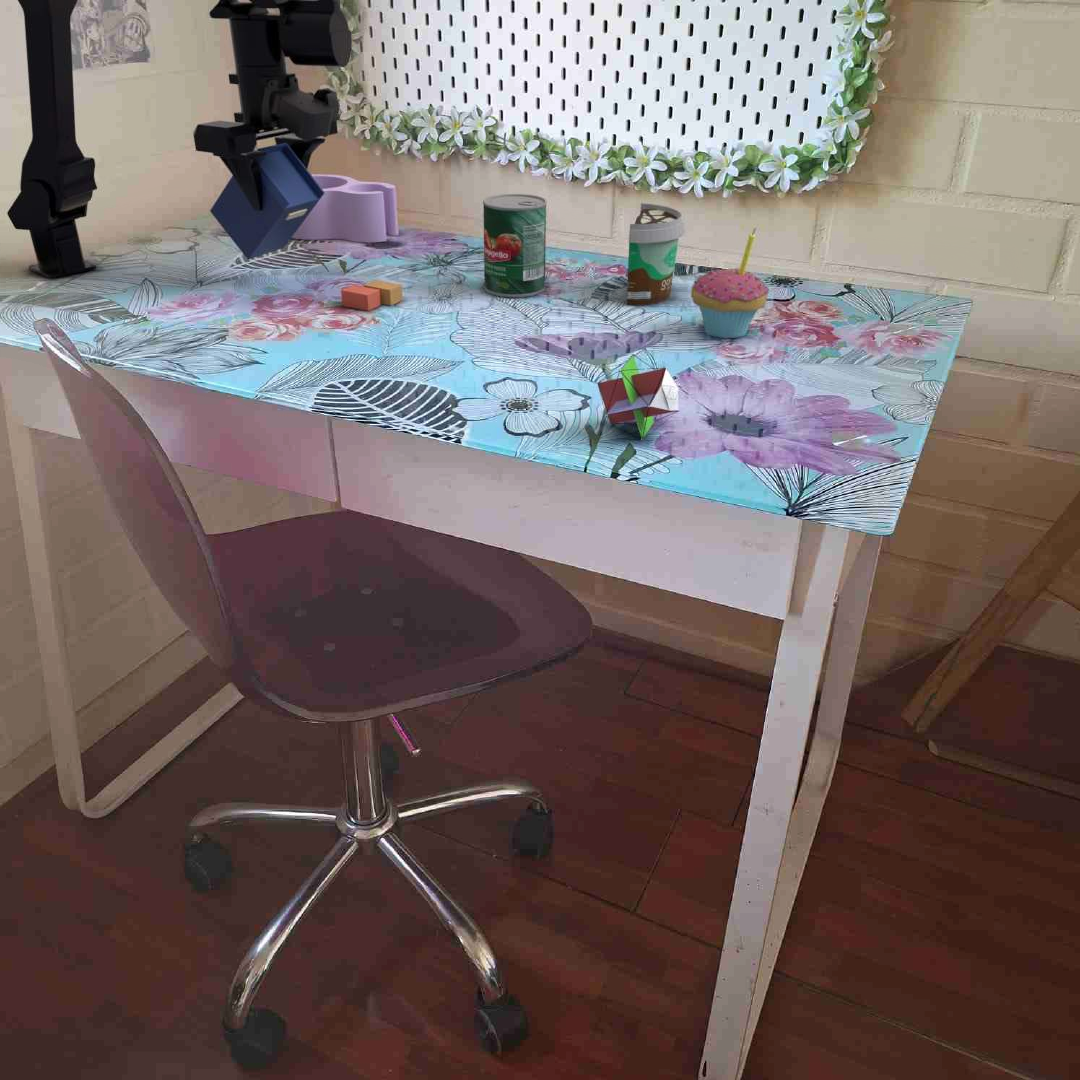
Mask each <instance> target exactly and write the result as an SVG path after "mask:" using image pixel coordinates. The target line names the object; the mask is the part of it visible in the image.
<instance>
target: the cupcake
mask: <svg viewBox="0 0 1080 1080" xmlns="http://www.w3.org/2000/svg"><path fill="white" fill-rule="evenodd" d="M756 230H757V227H754V228H753V230H752V233H750V234H748V238H747V242H746V245H745V249H744V252H743V256H742V259H741V262H740V267H739V268H729V269H727V268H725V269H721V268H719V269H715V270H710V271H708V272H707V273H705V274H703V275H701V276H699V277H698V278H697V279H696V280H695V281H693V285H692V287H691V293H690V294H691V295H690V296H691V299H692V301H693V303H694V304H695V305H696V306H698V308H699V310H700V314H701V317H702V323H703V327H704V332H705V333H706V334H708V335H710V336H712V337H715V338H722V339H736V338H741V337H745V335H747V333H748V331H749V328H750V326H751V323H752V321H753V319H754V317H755V315H756V314H757V312H758V310H759V309H763V308H765V306H766V303H767V300H768V294H769V290H770V289H769V288H768V287H767V285H766V284H765V283H764V282H763V281H762V279H761V278H759V277H757V275H755V274H752V273H751V272H750V271H746V270H747V266H748V263H749V259H750V256H751V252H752V249H753V245H754V242H755V238H756V235H755V233H756Z"/></svg>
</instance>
